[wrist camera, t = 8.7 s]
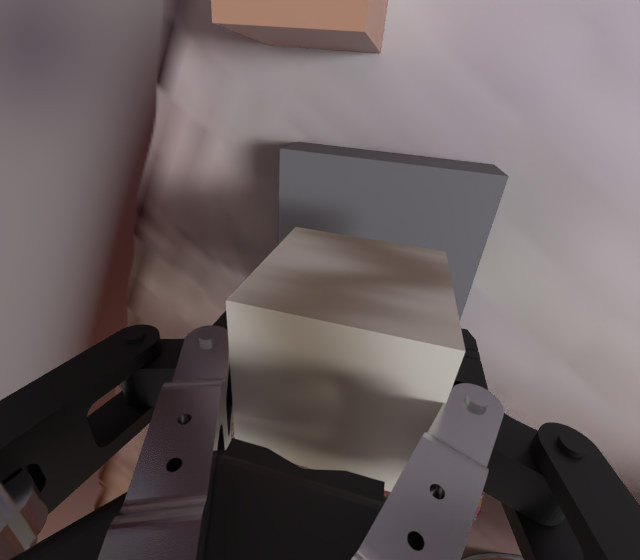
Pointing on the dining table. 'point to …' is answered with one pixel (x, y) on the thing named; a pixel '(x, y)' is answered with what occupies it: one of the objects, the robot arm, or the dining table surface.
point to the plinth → (393, 201)
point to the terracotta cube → (306, 22)
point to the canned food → (493, 557)
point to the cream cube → (343, 351)
